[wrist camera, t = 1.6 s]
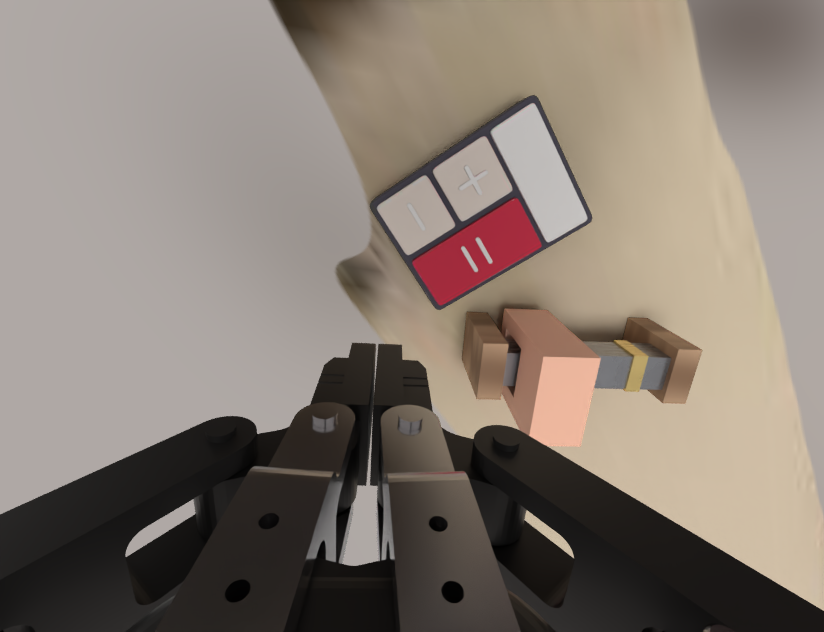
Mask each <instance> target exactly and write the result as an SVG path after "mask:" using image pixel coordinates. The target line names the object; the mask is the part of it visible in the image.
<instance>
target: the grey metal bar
mask: <svg viewBox="0 0 824 632" xmlns="http://www.w3.org/2000/svg"><path fill="white" fill-rule="evenodd" d="M505 340H506V341H507V343H508V344H509V345H508V352H507V359H506V366H505V373H504V379H503V386H516V380H517V373H518V367H519V361H520V354H521V348H520V347H519V345H518V344H517V342H516V341H515V340H514V339H505ZM582 342H583V343H584V344H586V345H587V346H588V347H589V348H590V349H591V350H592V351H593V352H594V353H596V354H597V355H598V356H599V357H600V358H601V360H600V365H599V369H598V373H597V377H596V382H595V386H594V388H608V389H623V390H624V391H631V392H639V390H640V389H650V390H662V388H663V385H664V382H665V378H666V375H667V372H668V368H669V365H670V362H671V357H669V356H668V355H666V354H665V353H663V352H662V351H660V350H659V349H658V348H656V347H655V346H653V345H652V344H650V343H630V342H628V341H627V340H614V341H613V342H591V341H582Z"/></svg>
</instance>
